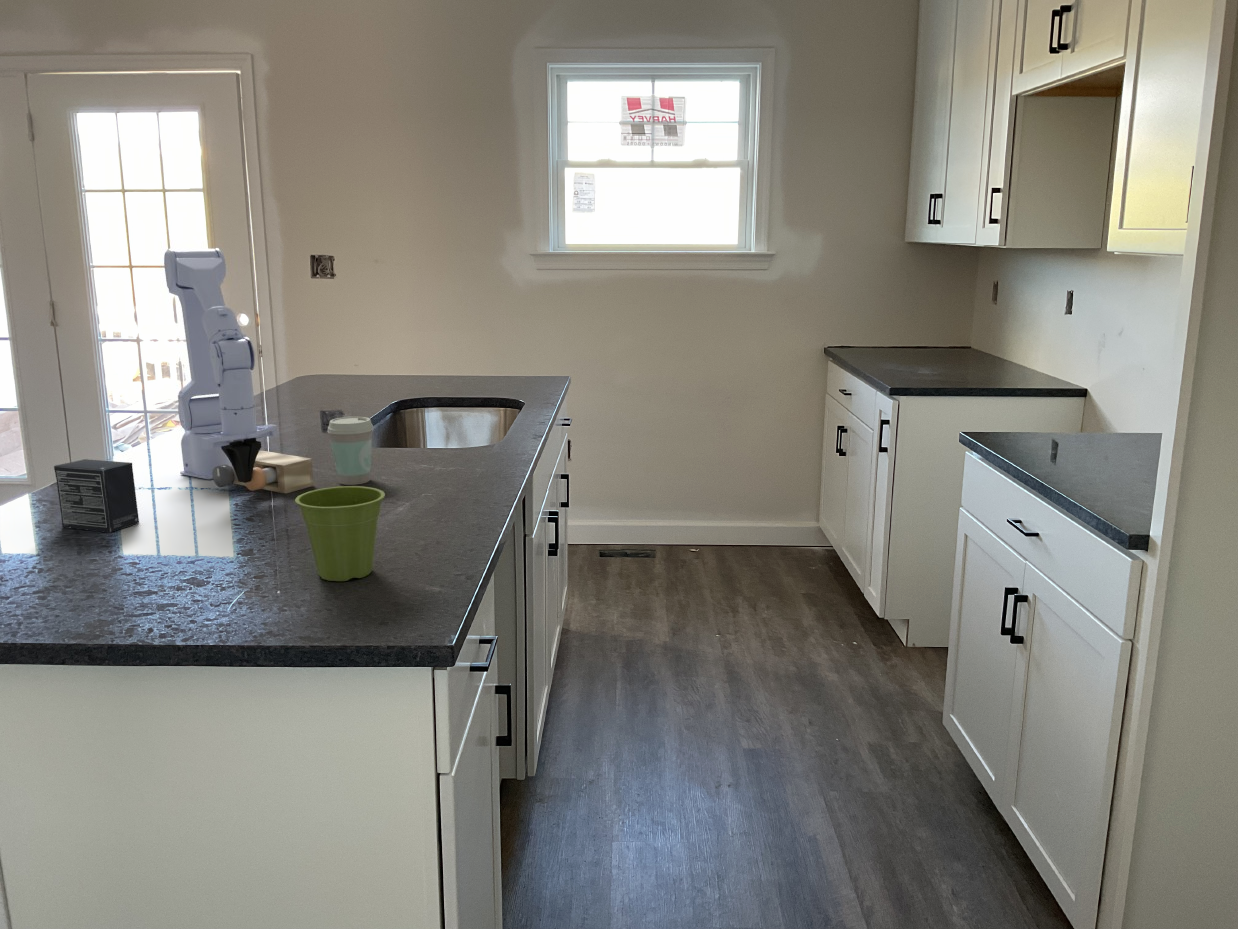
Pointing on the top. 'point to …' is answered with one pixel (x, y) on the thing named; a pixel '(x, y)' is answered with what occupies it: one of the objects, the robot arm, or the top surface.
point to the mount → (285, 471)
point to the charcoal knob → (224, 475)
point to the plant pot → (342, 529)
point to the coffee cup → (351, 448)
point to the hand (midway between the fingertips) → (244, 481)
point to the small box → (97, 495)
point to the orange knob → (262, 478)
